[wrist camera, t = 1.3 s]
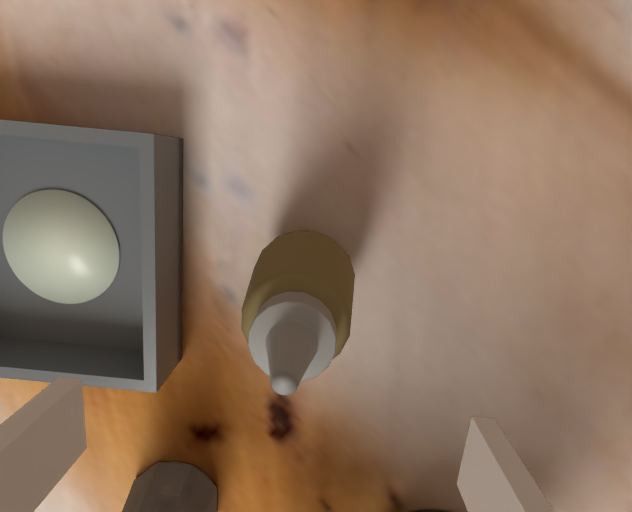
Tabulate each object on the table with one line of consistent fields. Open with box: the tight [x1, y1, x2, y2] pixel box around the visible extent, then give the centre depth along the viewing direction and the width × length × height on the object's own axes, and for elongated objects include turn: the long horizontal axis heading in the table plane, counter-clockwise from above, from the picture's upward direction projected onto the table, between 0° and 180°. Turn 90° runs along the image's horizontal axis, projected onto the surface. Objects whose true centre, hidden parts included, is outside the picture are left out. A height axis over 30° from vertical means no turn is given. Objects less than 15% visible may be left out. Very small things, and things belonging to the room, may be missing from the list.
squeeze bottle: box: [242, 231, 355, 395], centre depth 25 cm, size 8×8×18 cm
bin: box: [0, 120, 183, 393], centre depth 31 cm, size 20×20×6 cm
